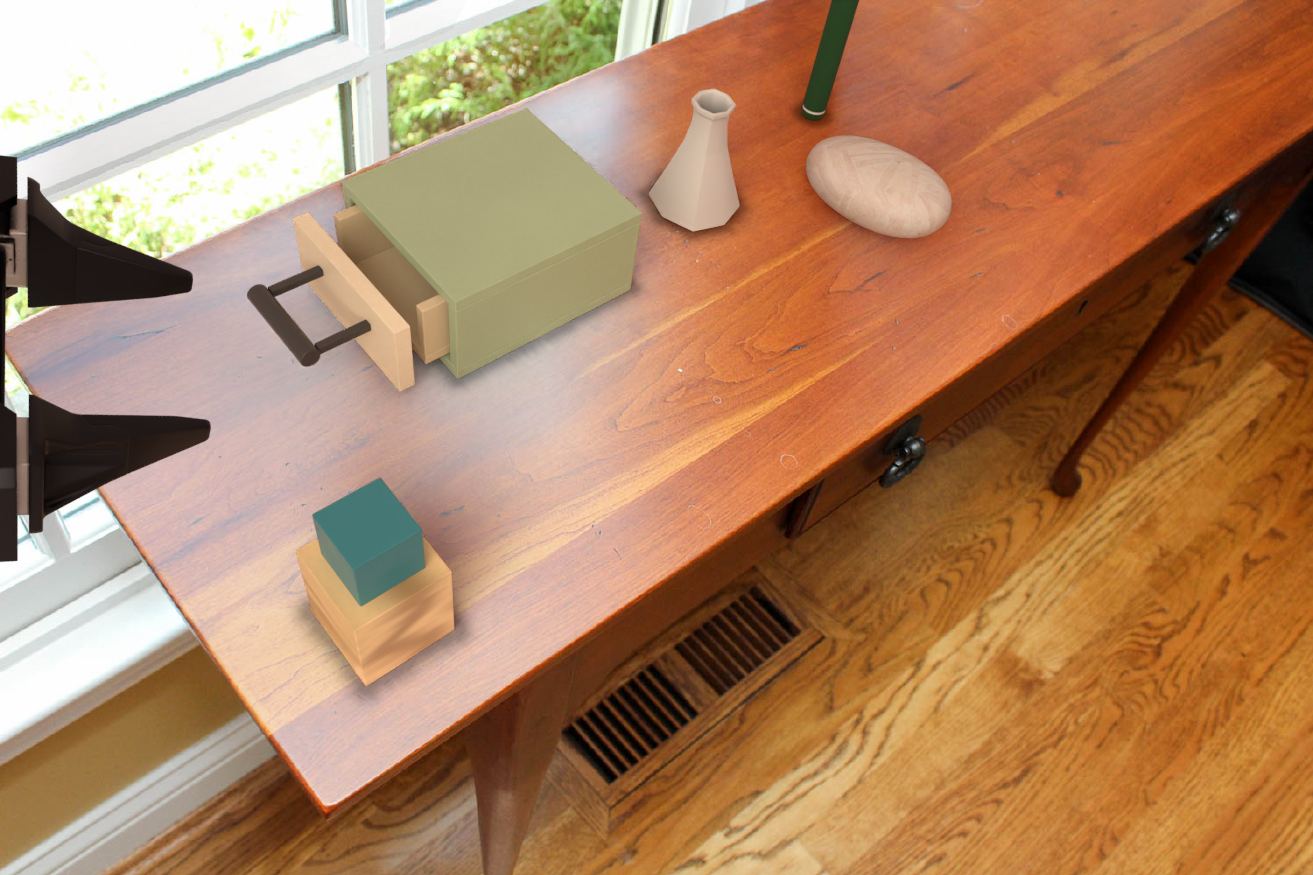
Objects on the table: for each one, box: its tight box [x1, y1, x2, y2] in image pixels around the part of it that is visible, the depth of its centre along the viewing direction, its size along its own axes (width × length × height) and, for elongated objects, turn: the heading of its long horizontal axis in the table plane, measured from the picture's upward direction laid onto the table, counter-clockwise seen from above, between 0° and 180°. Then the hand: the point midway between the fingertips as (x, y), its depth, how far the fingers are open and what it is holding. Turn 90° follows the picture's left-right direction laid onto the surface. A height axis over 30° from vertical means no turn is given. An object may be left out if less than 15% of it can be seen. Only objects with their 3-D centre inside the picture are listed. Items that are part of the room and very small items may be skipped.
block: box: [311, 477, 425, 606], centre depth 56 cm, size 4×4×4 cm
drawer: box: [246, 205, 450, 393], centre depth 75 cm, size 20×13×6 cm, turn 130°
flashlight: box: [801, 0, 860, 122], centre depth 90 cm, size 5×5×20 cm
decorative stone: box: [805, 134, 953, 239], centre depth 89 cm, size 13×9×5 cm
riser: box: [295, 535, 455, 687], centre depth 61 cm, size 6×6×7 cm
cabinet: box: [341, 107, 643, 380], centre depth 78 cm, size 16×14×8 cm
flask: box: [648, 88, 740, 232], centre depth 85 cm, size 7×7×10 cm
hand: (200, 352), depth 50 cm, fingers open, 9 cm apart
